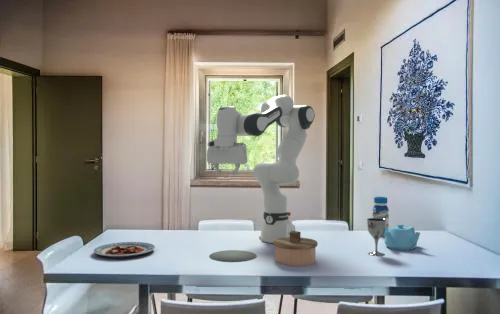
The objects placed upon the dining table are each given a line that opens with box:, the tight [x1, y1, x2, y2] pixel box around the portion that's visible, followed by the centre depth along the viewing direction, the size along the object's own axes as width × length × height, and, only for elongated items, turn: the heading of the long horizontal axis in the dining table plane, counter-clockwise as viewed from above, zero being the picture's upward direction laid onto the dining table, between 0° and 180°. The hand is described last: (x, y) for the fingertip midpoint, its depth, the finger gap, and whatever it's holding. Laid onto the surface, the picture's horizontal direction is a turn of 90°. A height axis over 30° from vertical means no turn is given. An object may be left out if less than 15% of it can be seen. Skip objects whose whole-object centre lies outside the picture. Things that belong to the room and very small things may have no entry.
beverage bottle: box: [371, 196, 390, 237], centre depth 222 cm, size 8×8×20 cm
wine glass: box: [366, 217, 386, 257], centre depth 179 cm, size 8×8×15 cm
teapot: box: [383, 223, 421, 251], centre depth 192 cm, size 15×15×11 cm
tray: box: [208, 249, 258, 263], centre depth 174 cm, size 20×20×1 cm
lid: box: [272, 230, 319, 249], centre depth 169 cm, size 18×18×5 cm
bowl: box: [274, 246, 316, 267], centre depth 169 cm, size 16×16×6 cm
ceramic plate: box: [93, 241, 156, 259], centre depth 181 cm, size 26×26×3 cm
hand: (226, 174), depth 183 cm, fingers open, 8 cm apart
